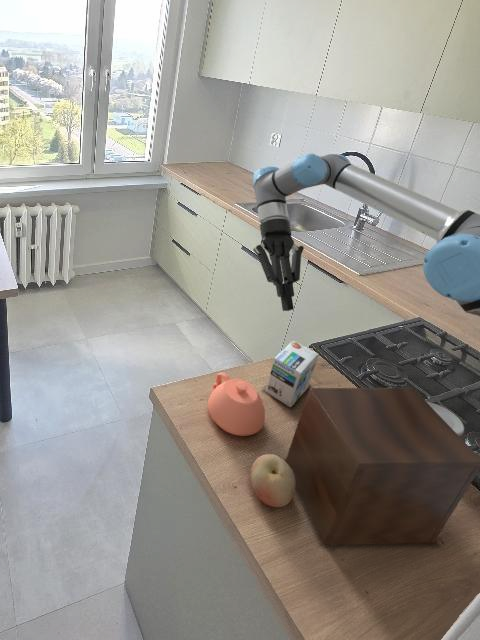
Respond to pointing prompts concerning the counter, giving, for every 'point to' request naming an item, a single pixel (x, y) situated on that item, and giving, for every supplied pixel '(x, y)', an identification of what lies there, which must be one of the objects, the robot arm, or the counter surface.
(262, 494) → the fruit
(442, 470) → the block
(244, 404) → the sugar bowl
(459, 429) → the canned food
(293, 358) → the light bulb box
